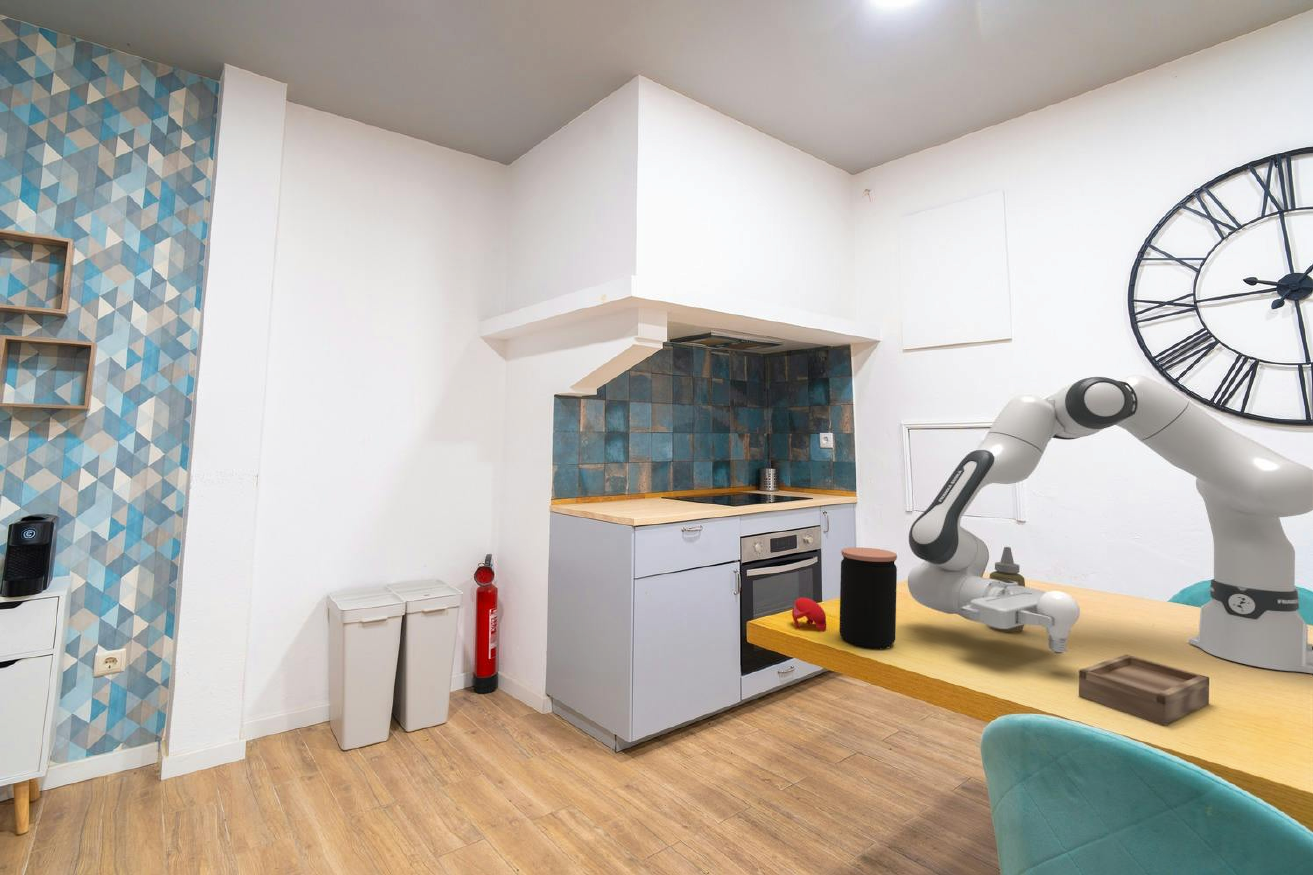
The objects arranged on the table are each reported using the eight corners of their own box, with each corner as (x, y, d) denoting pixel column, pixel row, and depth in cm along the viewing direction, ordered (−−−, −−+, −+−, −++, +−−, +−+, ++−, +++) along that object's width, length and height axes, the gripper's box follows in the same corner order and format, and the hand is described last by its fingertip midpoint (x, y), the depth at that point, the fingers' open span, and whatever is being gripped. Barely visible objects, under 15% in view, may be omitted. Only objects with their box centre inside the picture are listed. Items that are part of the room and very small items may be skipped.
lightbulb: (1080, 662, 99) (1081, 597, 99) (1036, 654, 103) (1037, 592, 103) (1078, 651, 105) (1078, 590, 105) (1035, 644, 108) (1036, 584, 108)
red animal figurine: (782, 610, 126) (801, 602, 122) (794, 597, 131) (813, 588, 127) (804, 642, 125) (825, 634, 121) (816, 627, 129) (836, 619, 125)
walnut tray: (1125, 678, 101) (1125, 654, 101) (1208, 703, 92) (1209, 677, 92) (1078, 696, 93) (1079, 669, 93) (1164, 725, 84) (1165, 696, 84)
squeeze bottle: (1034, 636, 123) (1035, 551, 123) (992, 633, 125) (994, 549, 125) (1018, 625, 131) (1020, 545, 131) (979, 622, 133) (981, 543, 133)
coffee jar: (903, 641, 118) (905, 552, 118) (882, 654, 110) (884, 559, 110) (852, 629, 125) (854, 545, 125) (829, 640, 117) (831, 551, 117)
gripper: (954, 590, 110) (1031, 609, 98) (1014, 579, 120) (1091, 594, 108) (953, 624, 110) (1031, 647, 98) (1014, 610, 120) (1091, 629, 108)
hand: (1063, 619), depth 103 cm, fingers closed on lightbulb, 6 cm apart
